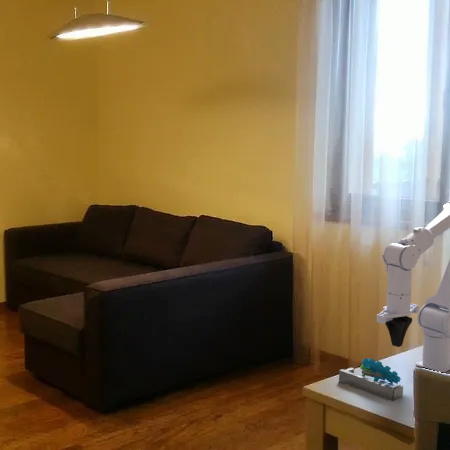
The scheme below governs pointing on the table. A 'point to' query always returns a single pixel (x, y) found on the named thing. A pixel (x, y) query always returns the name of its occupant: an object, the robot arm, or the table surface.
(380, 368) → the gear
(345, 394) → the table surface
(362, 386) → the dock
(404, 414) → the table surface
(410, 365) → the table surface
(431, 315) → the robot arm
